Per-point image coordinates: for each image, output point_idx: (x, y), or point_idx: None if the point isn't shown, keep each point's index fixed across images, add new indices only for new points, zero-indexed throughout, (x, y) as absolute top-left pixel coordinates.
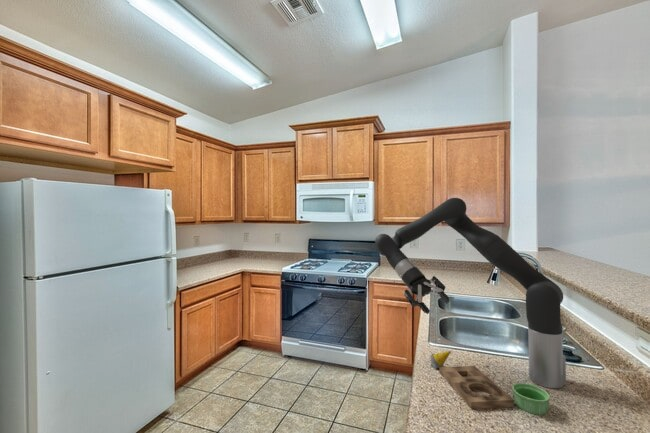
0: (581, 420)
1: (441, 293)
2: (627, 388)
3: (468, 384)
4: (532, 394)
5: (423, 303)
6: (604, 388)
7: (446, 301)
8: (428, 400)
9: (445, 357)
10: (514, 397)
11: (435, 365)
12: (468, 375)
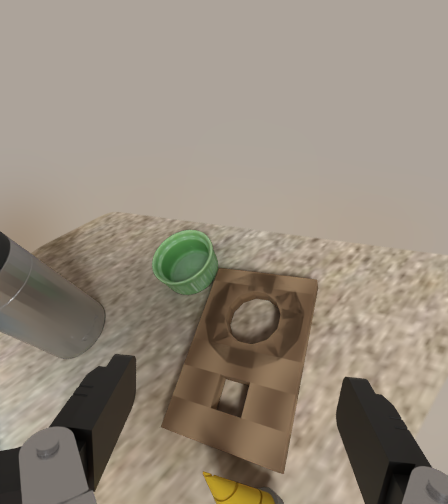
0: (161, 230)
1: (97, 419)
2: None
3: (265, 342)
4: (166, 276)
5: (389, 441)
6: None
7: (131, 383)
8: (414, 343)
9: (234, 482)
10: (209, 275)
11: None
12: (216, 399)
